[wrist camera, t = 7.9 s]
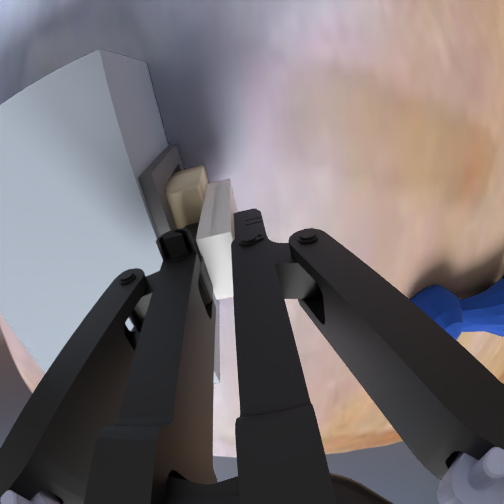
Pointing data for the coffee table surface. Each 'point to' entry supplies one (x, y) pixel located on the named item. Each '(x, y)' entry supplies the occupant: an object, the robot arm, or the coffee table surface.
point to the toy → (464, 309)
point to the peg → (186, 195)
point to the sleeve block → (80, 195)
